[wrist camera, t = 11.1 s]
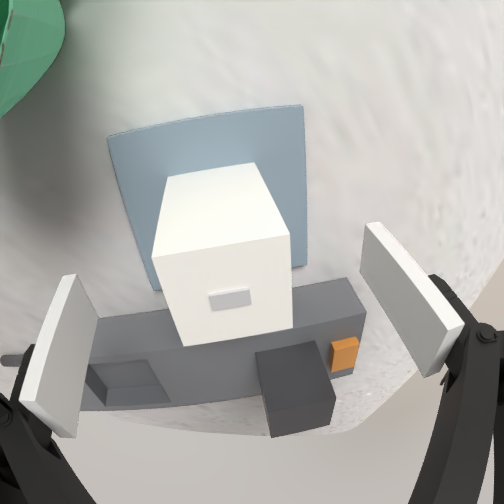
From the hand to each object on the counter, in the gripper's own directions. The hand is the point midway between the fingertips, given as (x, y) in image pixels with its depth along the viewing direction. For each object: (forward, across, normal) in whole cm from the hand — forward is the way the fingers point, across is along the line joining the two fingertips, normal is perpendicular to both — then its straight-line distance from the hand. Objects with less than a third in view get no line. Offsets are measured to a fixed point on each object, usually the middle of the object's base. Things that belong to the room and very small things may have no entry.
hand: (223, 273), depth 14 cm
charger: (+6, 0, 0) cm, 7 cm away
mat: (+7, 0, 0) cm, 7 cm away
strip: (+7, -8, -12) cm, 16 cm away
